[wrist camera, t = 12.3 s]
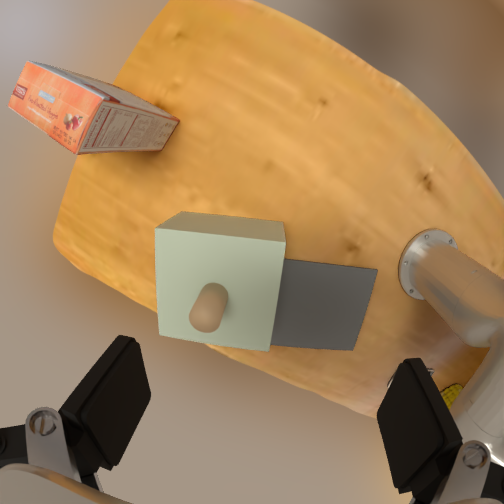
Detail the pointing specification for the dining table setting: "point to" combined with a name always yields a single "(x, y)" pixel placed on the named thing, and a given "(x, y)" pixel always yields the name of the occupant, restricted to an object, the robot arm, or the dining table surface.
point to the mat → (321, 305)
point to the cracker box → (88, 112)
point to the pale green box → (218, 278)
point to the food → (451, 394)
